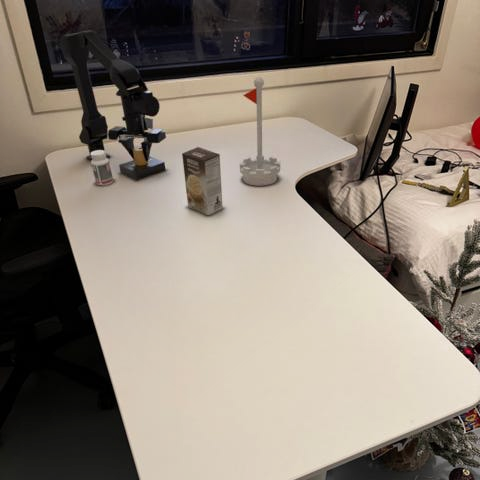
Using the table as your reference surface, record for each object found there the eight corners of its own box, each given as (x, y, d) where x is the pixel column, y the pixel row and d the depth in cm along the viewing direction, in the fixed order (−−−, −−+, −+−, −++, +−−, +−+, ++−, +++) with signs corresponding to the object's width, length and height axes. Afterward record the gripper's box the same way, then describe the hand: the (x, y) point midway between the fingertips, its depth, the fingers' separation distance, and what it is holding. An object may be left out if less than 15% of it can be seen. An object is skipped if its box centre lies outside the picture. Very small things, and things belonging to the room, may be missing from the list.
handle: (137, 166, 156) (134, 150, 152) (133, 162, 159) (130, 146, 155) (149, 164, 157) (147, 148, 153) (146, 160, 160) (143, 144, 157)
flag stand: (285, 174, 153) (288, 73, 134) (271, 189, 144) (271, 83, 125) (249, 169, 158) (247, 71, 139) (233, 183, 149) (228, 81, 130)
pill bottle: (115, 179, 156) (109, 149, 149) (110, 185, 151) (103, 155, 145) (99, 179, 156) (92, 149, 150) (93, 185, 152) (86, 155, 146)
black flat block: (120, 173, 159) (118, 164, 157) (149, 163, 166) (147, 154, 164) (136, 180, 154) (135, 171, 152) (165, 170, 160) (164, 161, 158)
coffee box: (186, 207, 136) (180, 152, 126) (202, 200, 140) (197, 146, 130) (208, 216, 131) (203, 160, 121) (224, 208, 135) (220, 153, 125)
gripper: (170, 106, 150) (176, 154, 160) (120, 103, 156) (129, 150, 166) (154, 116, 142) (161, 166, 152) (102, 113, 148) (112, 161, 158)
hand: (141, 160), depth 157 cm, fingers closed on handle, 4 cm apart
